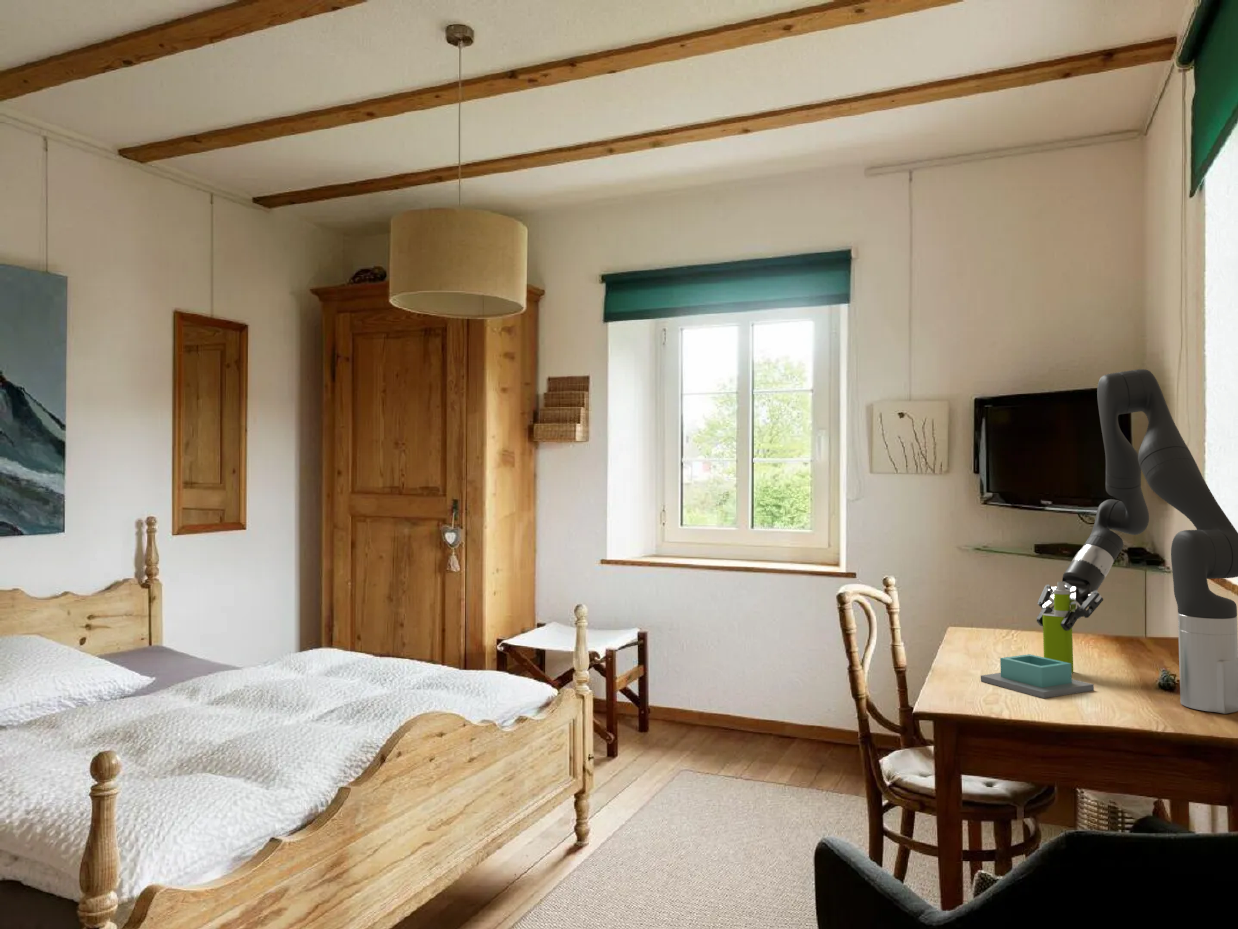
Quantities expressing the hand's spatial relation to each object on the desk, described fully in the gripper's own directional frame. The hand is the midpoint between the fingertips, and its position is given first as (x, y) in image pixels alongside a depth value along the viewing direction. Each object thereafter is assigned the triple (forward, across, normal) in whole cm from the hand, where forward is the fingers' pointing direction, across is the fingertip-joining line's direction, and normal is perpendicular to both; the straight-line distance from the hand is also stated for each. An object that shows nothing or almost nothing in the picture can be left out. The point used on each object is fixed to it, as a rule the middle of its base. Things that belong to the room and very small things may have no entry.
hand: (1052, 625), depth 190 cm
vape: (+6, 0, +9) cm, 11 cm away
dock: (+17, +7, -2) cm, 18 cm away
